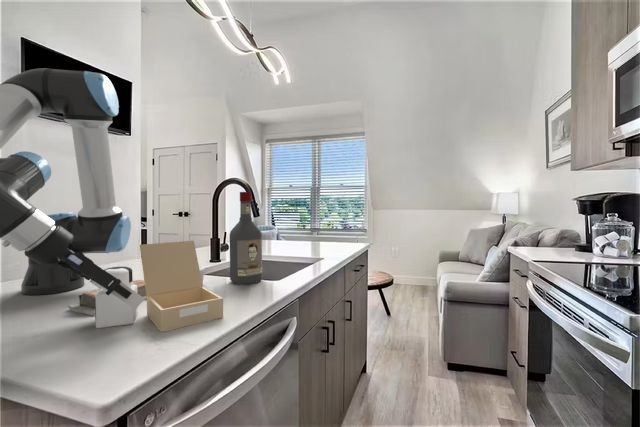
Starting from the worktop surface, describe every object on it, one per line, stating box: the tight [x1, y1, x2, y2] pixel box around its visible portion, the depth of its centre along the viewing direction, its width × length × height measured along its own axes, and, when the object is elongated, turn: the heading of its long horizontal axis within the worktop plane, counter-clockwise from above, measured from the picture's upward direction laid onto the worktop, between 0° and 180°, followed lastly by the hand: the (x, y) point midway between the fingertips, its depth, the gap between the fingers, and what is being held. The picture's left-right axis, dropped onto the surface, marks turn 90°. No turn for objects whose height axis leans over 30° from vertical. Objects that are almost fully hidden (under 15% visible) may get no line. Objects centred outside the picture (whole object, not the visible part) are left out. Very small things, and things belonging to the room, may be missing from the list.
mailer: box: [139, 240, 224, 333], centre depth 78 cm, size 20×13×16 cm, turn 39°
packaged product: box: [68, 279, 147, 317], centre depth 86 cm, size 18×5×10 cm
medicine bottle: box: [94, 266, 139, 329], centre depth 73 cm, size 7×7×12 cm
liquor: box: [229, 191, 263, 286], centre depth 109 cm, size 9×9×30 cm
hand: (128, 297), depth 74 cm, fingers open, 13 cm apart
